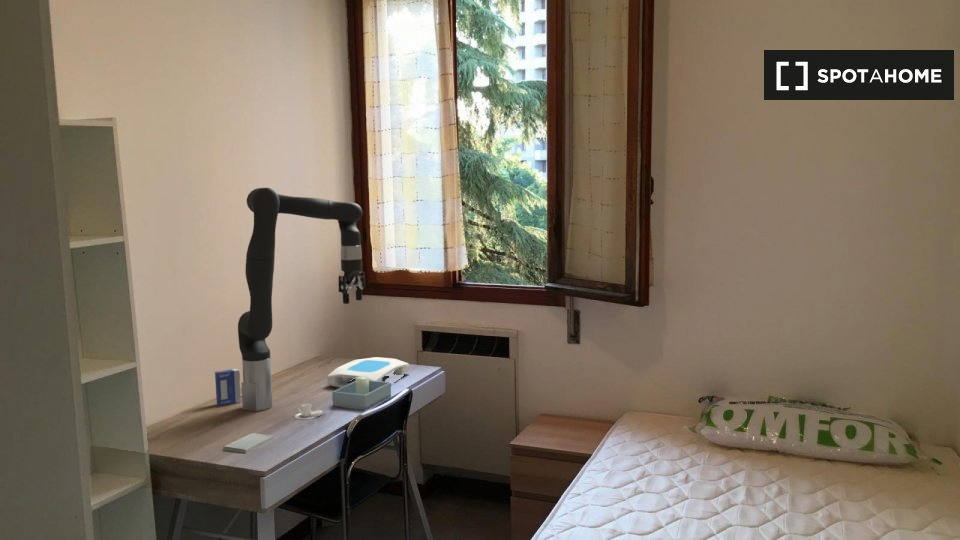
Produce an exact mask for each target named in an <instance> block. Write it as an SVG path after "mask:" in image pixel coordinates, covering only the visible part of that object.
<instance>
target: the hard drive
mask: <svg viewBox="0 0 960 540" xmlns="http://www.w3.org/2000/svg"><path fill="white" fill-rule="evenodd" d="M273 439H274V436H273V435H269V434H263V433H254V432H252V433H249V434H247V435H244V436H243V437H241V438H238V439H236V440H235V441H232V442H230V443H228V444H226V445H224V446H223V449H222V450H225V451H230V452H237V453H242V454H247V453H249V452H251V451H253V450H255V449H257V448H259V447H261V446H263V445H265V444H266V443H269V442H270V441H273Z"/></svg>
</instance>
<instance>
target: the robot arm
mask: <svg viewBox="0 0 960 540" xmlns="http://www.w3.org/2000/svg"><path fill="white" fill-rule="evenodd" d="M246 205H247V207H248V209H249V210H250V211H251V212H252V213H253V229H252V233H251V237H250V239H249V243H248V247H247V250H246V256H245V257H246V258H245V279H246V283H247V288H248V291H249V299H250V302H249V303H250V304H249V310H248V311H245V312H244V313H242V314H241V316H240V317H239V319H238V321H237V323H238V324H237V337H238V347H239V351H240V353H241V359H242V360H241V361H242V362H241V364H242V378H243V379H242V382H241V400H242V401H241V402H242V410H244V411H249V412H259V411H264V410H269V409H270V408H272V407H273V406H274V405H273V388H272V386H273V385H272V365H271V364H272V363H271V350H270V348H269V347H268V344H267V342H266V339H268V337H269V336H270V335H271V333H272V330H273V306H272V305H273V304H272V303H273V302H272V300H273V299H272V298H273V297H272V296H273V286H274V285H273V284H274V272H275V257H276V256H275V253H276V227H277V222H278V215H279V214H286V215H287V214H288V215H293V216H300V217H304V218H305V217H306V218H312V219H321V220H335V221H337V222H338V227H339V232H340V270H341V272H344V273H343V275H338V292H339V293H341V294H342V302H343V303H342V304H344V305H348V304H350V290H351V289H352V288H353V287H354V288H355V300H356V301H362V300H363V290H364V288H366V287H367V286H366V273H365V271H363V259H362V258H363V256H362V255H363V254H362V246H361V245H362V243H361V239H362V238H361V232H360V230H359V229H358V227H357V222H359V221H360V220H361V219H362V217H363V215H364V214H363V213H364V211H363V209H362V207H361V206H360V205H359V204H358V203H356V202H346V201H335V200H330V199H326V198H325V199H324V198H318V197H303V196H291V195H284V194H279V193H277V192H276V190H274V189H273V188H270V187H257V188H255V189H253V190H251V191H250V192H249V193H248V194H247V197H246Z"/></svg>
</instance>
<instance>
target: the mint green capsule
mask: <svg viewBox="0 0 960 540" xmlns="http://www.w3.org/2000/svg"><path fill="white" fill-rule="evenodd" d="M354 381H355V382H356V394H361V395H366V394H368V393H369V377H367V376H358V377H356V378H355V380H354Z"/></svg>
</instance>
